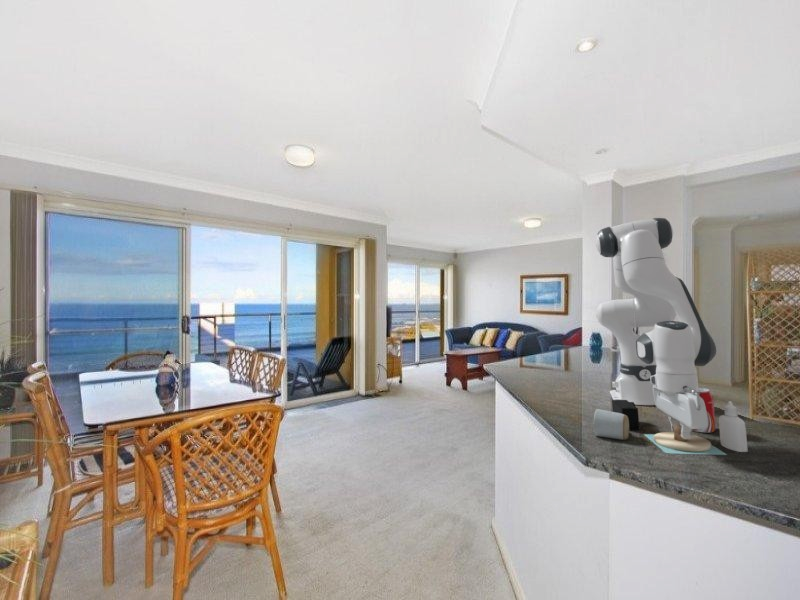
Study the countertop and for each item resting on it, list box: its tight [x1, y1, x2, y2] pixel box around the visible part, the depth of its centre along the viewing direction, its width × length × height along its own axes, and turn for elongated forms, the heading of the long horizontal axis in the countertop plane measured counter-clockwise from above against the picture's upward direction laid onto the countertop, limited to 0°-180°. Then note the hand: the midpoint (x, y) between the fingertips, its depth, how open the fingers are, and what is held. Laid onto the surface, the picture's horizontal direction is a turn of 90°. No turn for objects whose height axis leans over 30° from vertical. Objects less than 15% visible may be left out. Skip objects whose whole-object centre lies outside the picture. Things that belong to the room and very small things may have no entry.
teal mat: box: [642, 433, 728, 456], centre depth 98 cm, size 14×13×1 cm
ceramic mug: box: [593, 408, 630, 441], centre depth 108 cm, size 11×8×8 cm
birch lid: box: [654, 425, 712, 452], centre depth 98 cm, size 12×12×4 cm
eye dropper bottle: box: [718, 400, 749, 453], centre depth 94 cm, size 4×6×12 cm
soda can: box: [691, 386, 716, 434], centre depth 108 cm, size 7×7×12 cm
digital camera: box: [611, 399, 640, 431], centre depth 115 cm, size 10×5×7 cm, turn 165°
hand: (680, 435), depth 98 cm, fingers closed on birch lid, 3 cm apart
